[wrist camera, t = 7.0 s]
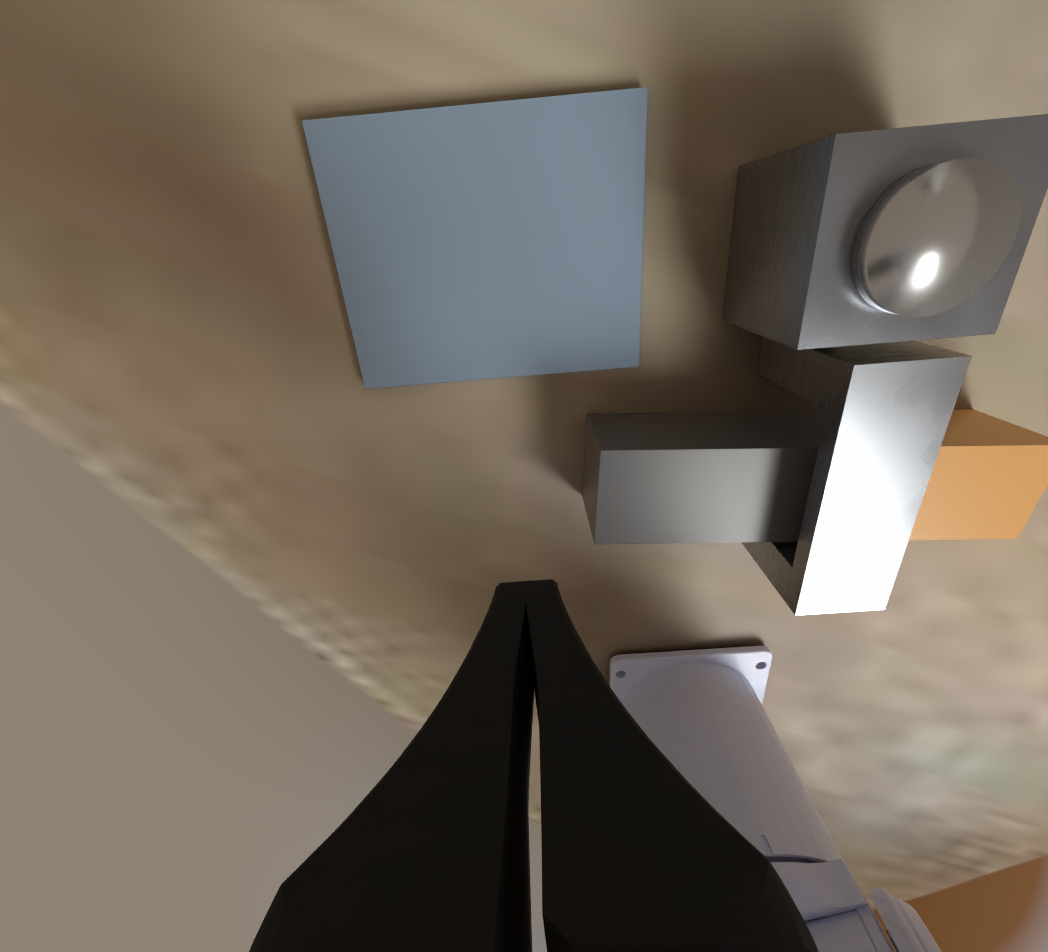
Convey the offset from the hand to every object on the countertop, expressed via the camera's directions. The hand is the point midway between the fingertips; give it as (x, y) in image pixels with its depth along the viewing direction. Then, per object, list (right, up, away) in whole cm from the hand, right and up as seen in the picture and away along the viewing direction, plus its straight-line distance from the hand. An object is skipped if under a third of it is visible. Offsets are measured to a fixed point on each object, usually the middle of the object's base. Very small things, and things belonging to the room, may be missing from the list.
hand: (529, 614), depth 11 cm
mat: (-1, +11, +4) cm, 12 cm away
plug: (+10, +4, +8) cm, 13 cm away
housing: (+10, +7, +6) cm, 13 cm away
